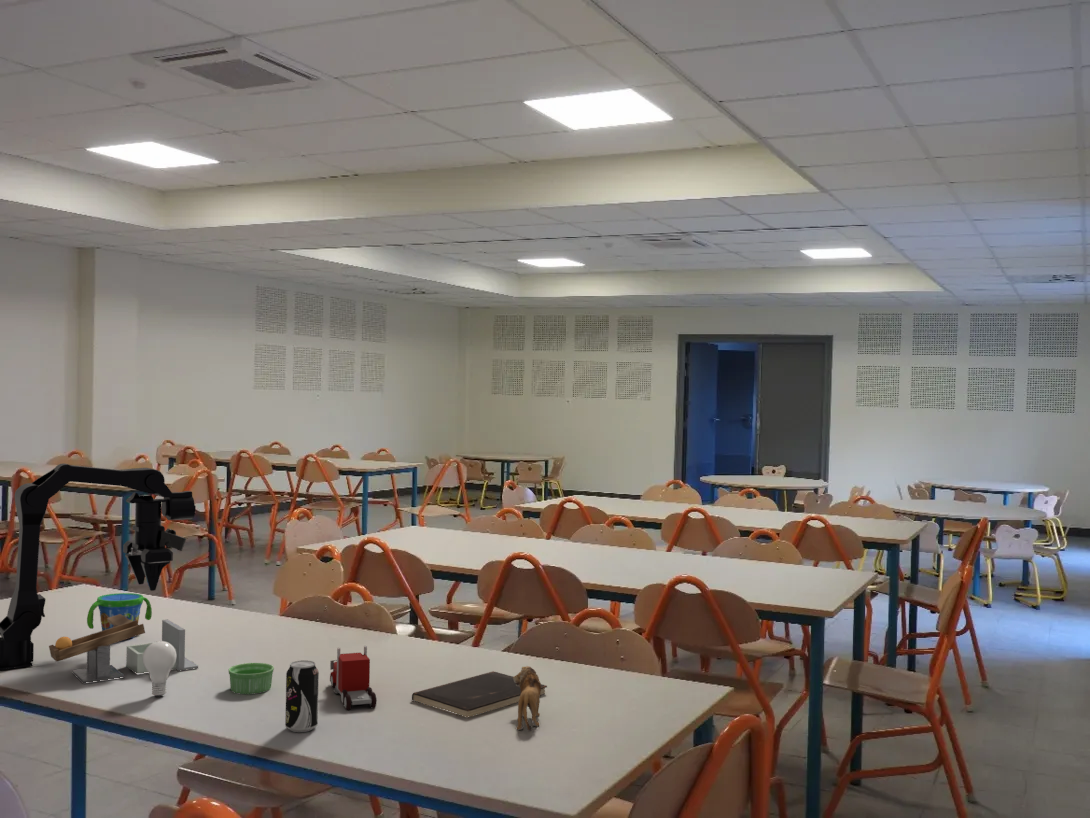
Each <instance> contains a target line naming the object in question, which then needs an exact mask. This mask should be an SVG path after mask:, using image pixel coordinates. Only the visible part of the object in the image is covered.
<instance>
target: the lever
mask: <svg viewBox="0 0 1090 818" xmlns="http://www.w3.org/2000/svg"><path fill="white" fill-rule="evenodd" d="M107 621H108V622H109V623H111V624H112V625H114V626H115V627H113V628H109V629H106V630H103V631H102V630H100V631H98V632H93V633H91V634H88V635H85V636H82V637H79V638H76V639H71V641H72V646H71V647H68V648H65V649H62V650H58V649H57V648H56V647H55V644H50V645H48V648H49V653H50V657H51V658H52V659H53V660H54V661H55V662H57V663H58V662H61V661H63V660H67V659H70V658H73V657H75V656H79V655H82V654H85V653H87V652H88V651H92V650H95V649H97V647H98V646H106V645H110V646H111V645H112V644H116V643H119V642H122V641H125V640H127V639H132V638H131V637H134V638H135V637H137V636H139V635H140V636H141V635H143V634H146V631H145V625H144V623H140V624H139V621H137V620H135V621H131V620H129V619H127V618H126V617H124V616H123V615H121V614H119V615H115V616H112V617H109V618H107Z"/></svg>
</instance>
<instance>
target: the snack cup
mask: <svg viewBox="0 0 1090 818" xmlns="http://www.w3.org/2000/svg"><path fill="white" fill-rule="evenodd" d="M143 602H145V604H146V610H145V614H144V619H145V620H146V621H150V620H151V619H152V615H153V612H152V610H153V609H152V605H151V604H152V603H151V602H150V600H149V599H148V598H147V597H146V596H144V595H143V594H141V593H132V592H126V593H124V592H120V593H107V594H102V595H99V596H97V599H96V601H95V602H93V603H92V604H91V606H90V608H89V609H88V612H87V618H86V624H87V626H88V628H89V629H94V614H95V613H94V611H95V610H96V608H97V607H98V611H99V618H100V625H101V631H103V630H106V629H109V628H113V627H115V626H114V625H112V624H111V623H109V622H108V621H107V618H109V617H112V616H115V615H119V614H121V615H123V616H124V617H126V618H127V619H129V620H131V621H135V620H137V621H138V622H139V621H140V614H141V608H142V606H143ZM133 638H135V636H134V637H131V638H130V639H133Z"/></svg>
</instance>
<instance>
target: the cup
mask: <svg viewBox="0 0 1090 818" xmlns="http://www.w3.org/2000/svg"><path fill="white" fill-rule="evenodd" d="M152 643H153V642H149V643H141V644H140V643H139V644H135V645H127V646H126V654H125V655H126V657H125V658H126V659H125V662H126V663H125V666H127V667H126V668H127V669H129V668H130V669H131V670H133V671H134V672H136V673H144V672H148V671H147V669H146V668H145V666H144V664H143V653H144V651H145V649H146V648H147V647H148V646H149V645H150V644H152ZM175 650H176V648H175ZM130 669H129V670H130ZM172 669H175V670H176V662H175V664H174V666H173V667H172ZM131 670H130V671H131ZM133 671H132V672H133ZM134 672H133V673H134Z"/></svg>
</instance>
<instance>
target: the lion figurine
mask: <svg viewBox="0 0 1090 818" xmlns="http://www.w3.org/2000/svg"><path fill="white" fill-rule="evenodd" d="M513 679H514V682H515V683H516V686H520V689H521V694H520V699H519V702H517V726H516V730H518V731H521V730H523V728H524V727H523V719H524V722H525V723H524V724H525V725H526V728H527V730H528V732H532V730H533V729H532V727H531V725H530V723H529V721H528V709H529V711H530V713H531V722H532V725H533V726H534V727H538V726H540V722H538V721H537V717H539V716H540V713H539V708H540V703H541V700H540V698H541V697H540V696H541V695H540V692H541V684H542V683H541V681H540V679H539V675H538V674H537V672H536V670H535V669H534V668H533V667H531V666H528V665H526V666H522V667H521V670H520V672H518V673H517V674H516V675H514V676H513ZM527 708H528V709H527Z"/></svg>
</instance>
